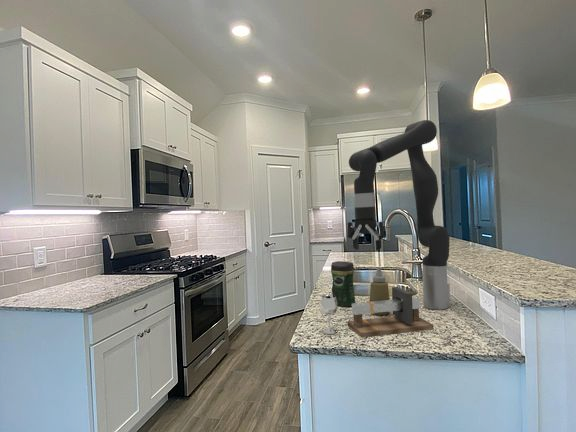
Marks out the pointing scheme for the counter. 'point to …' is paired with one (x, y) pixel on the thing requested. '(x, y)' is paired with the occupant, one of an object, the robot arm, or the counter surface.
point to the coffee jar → (343, 282)
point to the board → (387, 325)
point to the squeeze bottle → (379, 289)
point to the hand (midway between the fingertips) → (367, 249)
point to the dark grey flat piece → (407, 310)
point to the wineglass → (329, 309)
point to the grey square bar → (381, 306)
